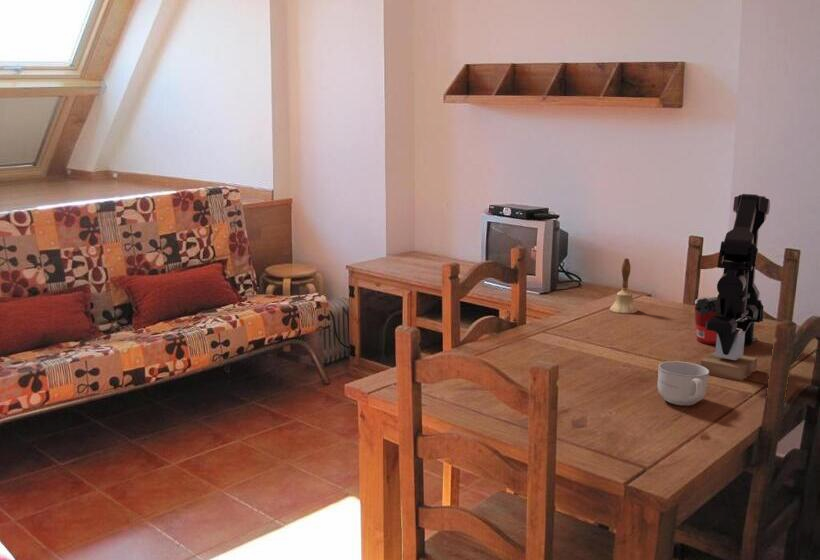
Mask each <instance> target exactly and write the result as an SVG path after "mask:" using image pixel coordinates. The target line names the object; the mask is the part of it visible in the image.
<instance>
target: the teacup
mask: <svg viewBox="0 0 820 560" xmlns="http://www.w3.org/2000/svg"><path fill="white" fill-rule="evenodd" d="M657 367H658V371H657V373H658V374H657V385H656V386H657V391H658V393H659V395H660V396H661V397H662V398H663V399H664V400H665V401H666V402H667V403H669V404H673V405H677V406H693V405H696V404H697V403H698V402H700V401H702V400H703V398H705V395H706V392H707V387H708V381H709V380H708V379H709V375H710V374H709V370H708V369H707V368H705V367H703V366H701V364H696V363H695V362H694V363H693V362H687V361H680V360H679V361H677V360H667V361H662V362H660V363H659V364H658V366H657Z"/></svg>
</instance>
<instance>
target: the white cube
mask: <svg viewBox="0 0 820 560" xmlns="http://www.w3.org/2000/svg"><path fill="white" fill-rule="evenodd" d="M736 329H738V328H736ZM742 330H743V329H739V332H738V335H737V337H736V339H735V341H734V343H733V345H732V348H731V350H730V352H729V354H728V355H725V354H723V351H722V347H721V342H720V338H719V335H718V334H717V340H716V344H715V351H716V353H715V356H716V357H721V358H726V359H731V360H737V359H738V358H740V357H741V356H743V355H744V349H745V345H744V339H745V331H742Z"/></svg>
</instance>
